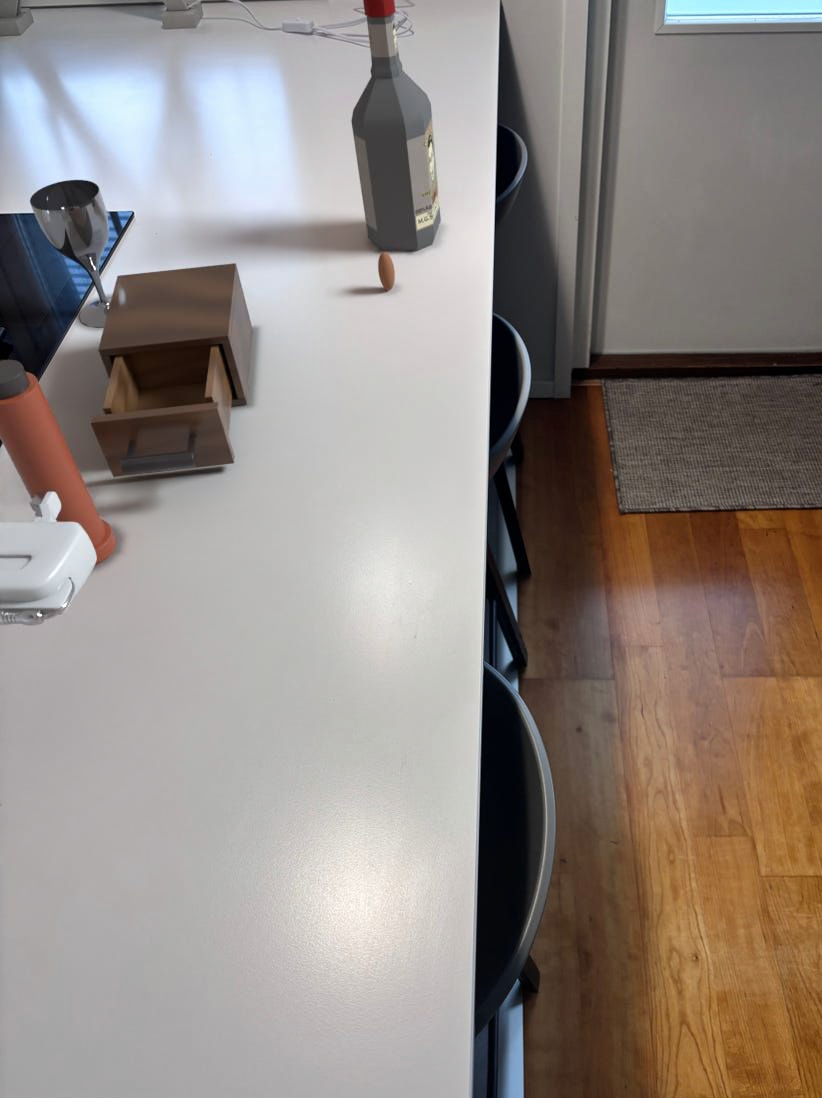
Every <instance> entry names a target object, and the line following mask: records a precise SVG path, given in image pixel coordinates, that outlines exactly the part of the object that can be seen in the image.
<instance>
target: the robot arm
mask: <svg viewBox="0 0 822 1098" xmlns="http://www.w3.org/2000/svg"><path fill="white" fill-rule="evenodd" d="M29 506H30V508H31V509H32V511H33V512H34V515H35V517H33V520H31V521H0V626H7V625H24V626H38V625H42V624H43V623H44V622H45V620H50V619H53V618H55V617H57V616H60V615H64V613H66V611H67V610H68V609H69V607H70V605H71V603H72V602H73V600H74V599H75V598H76V597H77V595H78V594H79V592H80V591H81V589H82V588H83V587H84V585H85V583H86V582H87V580H88V579H89V577H90V575H91V573H92V571H93V569H94V567H95V566H96V565H95V563H96V560H97V556H96V552H95V549H94V546H93V544H92V542H91V540H90V538H89V536H88V535H87V533H86V532H85V530H84V529H83V528H82V526H81V525H80V524H79V523H77V522H57V520H56V518H57V516H58V514H59V512H60V510H61V502H60V500H59V498H58V496H57V494H56V492H36V493H35V497H34V498H32V499H31V501H30V502H29Z"/></svg>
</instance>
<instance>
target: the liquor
mask: <svg viewBox="0 0 822 1098" xmlns="http://www.w3.org/2000/svg"><path fill="white" fill-rule="evenodd" d="M362 3H363V11H364V16H366V23H367V32H368V40H369V49H370V51H369V52H370V58H371V59H370V60H371V67H370V75H371V76H370V78H369V80H368V81H367V84H366V85H365V86H364V87H365V88H364V89H363V92H362V93H361V95H360V97H359V99H358V101H357V102H356V104H355V106H354V107H353V110H352V114H351V115H352V116H351V120H350V122H351V129H352V135H353V142H354V149H355V155H356V156H355V157H356V163H357V169H358V176H359V184H360V189H361V190H360V192H361V197H362V202H363V203H362V206H363V212H364V219H365V226H366V233H367V238H368V240H369V241H370V242H371V243H372V245H374V246H375V247H376V248H378V249H380V250H381V251H404V252H405V251H409V252H410V251H411V252H412V251H414V252H417V251H420V250H423V249H426V248H428V247H429V246H433V243H434V241H435V238H436V236H437V233H438V230H439V227H440V224H441V221H442V219H441V206H440V196H439V184H438V172H437V159H436V158H437V157H436V148H435V137H434V135H435V134H434V124H433V112H432V104H431V101H430V97H429V96H428V94H427V93H426V91H424V90H423V89H422V88H421V87H420V86H419V85H418V83H416V82H415V81H414V80H413V79H412V78H411V77H410V76H409V75H408V74H407V73H406V72H405V71H404V70H403V63H402V61H401V59H400V53H399V44H398V37H397V35H398V34H397V26H396V18H395V13H396V5H395V0H362Z"/></svg>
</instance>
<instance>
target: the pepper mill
mask: <svg viewBox="0 0 822 1098" xmlns="http://www.w3.org/2000/svg"><path fill="white" fill-rule="evenodd" d="M0 441H1V443H2V445H3V447H4V448H5V451H6V453H7V454H8V456H9V458H10V460H11V461H12V464H13V466H14V468H15V469H16V472H17V473H18V475H19V477H20V480H21V481H22V484H23V485H24V487H25V489H26V491H27V494H28V495H29V497H30V498H31V500H32V498H34V497H35V493H36V492H56V494H57V496H58V498H59V500H60V502H61V510H60V512H59V514H58V516H57V518H56V520H57V522H77V523H79V524H80V525H81V526H82V528H83V529H84V530H85V532H86V533H87V535H88V536H89V538H90V540H91V542H92V544H93V546H94V549H95V552H96V556H97V560H96V563H95V566H97V565H98V564H101V563H102V562H104V561H105V560H107V559H108V558H109V557H110V556H111V555H112V554H113V553H114V551H115V549H116V546H117V538H116V536H115V534H114V531H113V529H112V527H111V524H110V523H108V522H107V520H105V519H102V518H101V516H100V513H99V512H98V508H97V506H96V504H95V502H94V500H93V499H92V496H91V494H90V492H89V489H88V487H87V485H86V483H85V481H84V479H83V476H82V474H81V472H80V470H79V468H78V465H77V463H76V461H75V459H74V456H73V455H72V452H71V450H70V448H69V446H68V444H67V441H66V439H65V437H64V435H63V433H62V431H61V429H60V426H59V424H58V422H57V420H56V417H55V415H54V413H53V410H52V409H51V407H50V404H49V402H48V399H47V398H46V396H45V393H44V391H43V389H42V386H41V384H40V382H39V379H38V378H37V377H36V376H35V375H34V374H33V373H31V372H28V371H26V370H25V368H24V365H23V364H22V363H21V362H20V361H18V360H15V359H1V360H0Z"/></svg>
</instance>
